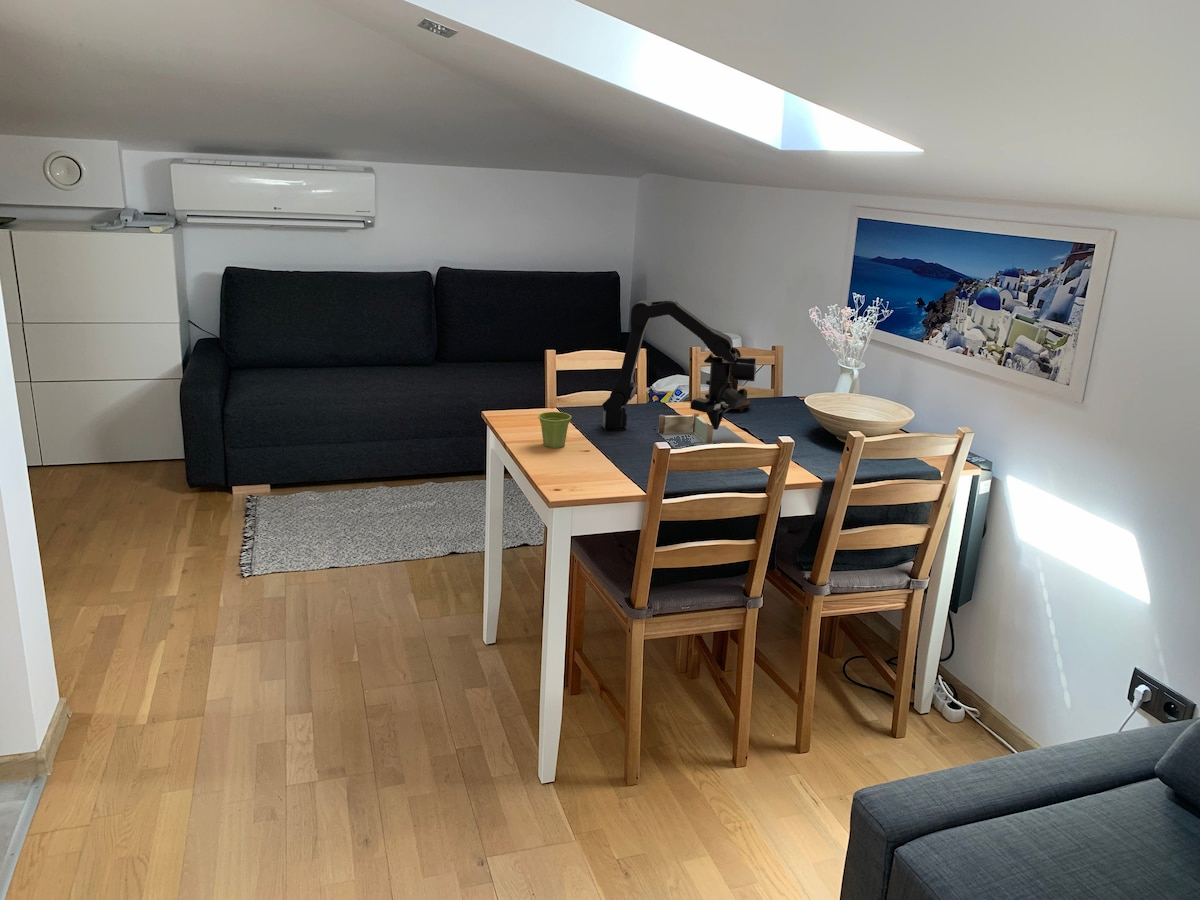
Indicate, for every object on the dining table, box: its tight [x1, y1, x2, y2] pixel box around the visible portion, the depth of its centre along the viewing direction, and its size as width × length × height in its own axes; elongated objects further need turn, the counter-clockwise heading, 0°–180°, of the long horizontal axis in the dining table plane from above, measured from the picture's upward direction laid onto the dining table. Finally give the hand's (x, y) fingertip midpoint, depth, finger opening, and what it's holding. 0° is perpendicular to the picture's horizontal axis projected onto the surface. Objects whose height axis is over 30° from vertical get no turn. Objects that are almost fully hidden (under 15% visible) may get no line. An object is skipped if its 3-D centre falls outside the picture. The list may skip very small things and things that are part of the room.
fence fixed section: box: [657, 412, 700, 434], centre depth 282 cm, size 13×2×6 cm, turn 105°
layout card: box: [658, 425, 749, 449], centre depth 279 cm, size 24×21×1 cm
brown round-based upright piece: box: [705, 347, 751, 413], centre depth 311 cm, size 15×15×20 cm
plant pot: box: [537, 411, 572, 449], centre depth 263 cm, size 9×9×9 cm
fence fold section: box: [695, 416, 713, 443], centre depth 276 cm, size 12×2×5 cm, turn 15°
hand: (715, 429), depth 276 cm, fingers closed
